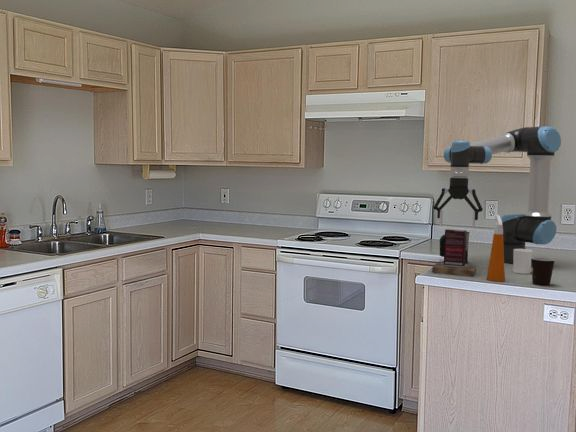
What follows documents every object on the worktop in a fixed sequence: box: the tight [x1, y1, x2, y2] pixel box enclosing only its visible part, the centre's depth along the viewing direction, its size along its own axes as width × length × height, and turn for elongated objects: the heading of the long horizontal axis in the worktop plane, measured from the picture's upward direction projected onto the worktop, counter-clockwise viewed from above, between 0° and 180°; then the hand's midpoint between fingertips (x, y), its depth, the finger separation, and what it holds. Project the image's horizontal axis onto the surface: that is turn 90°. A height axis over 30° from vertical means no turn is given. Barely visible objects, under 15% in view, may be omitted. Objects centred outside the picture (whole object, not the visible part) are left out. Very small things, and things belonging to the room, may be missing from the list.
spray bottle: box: [486, 214, 506, 282], centre depth 245 cm, size 7×11×26 cm, turn 171°
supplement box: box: [443, 229, 468, 268], centre depth 258 cm, size 9×5×16 cm, turn 64°
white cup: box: [512, 248, 534, 275], centre depth 263 cm, size 8×8×10 cm
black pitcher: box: [439, 231, 470, 264], centre depth 282 cm, size 14×16×15 cm
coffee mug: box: [531, 256, 555, 287], centre depth 239 cm, size 12×9×10 cm
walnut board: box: [431, 262, 477, 278], centre depth 259 cm, size 17×12×2 cm
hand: (456, 227), depth 257 cm, fingers open, 13 cm apart
